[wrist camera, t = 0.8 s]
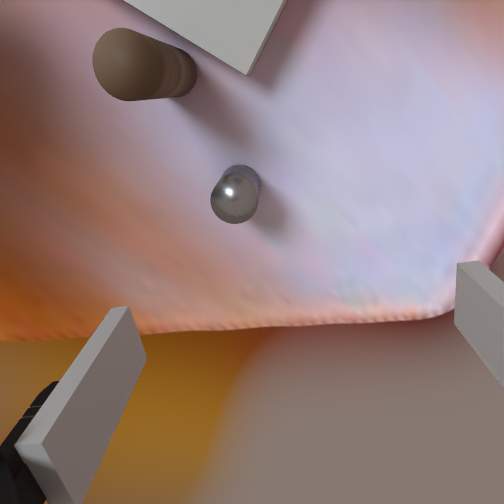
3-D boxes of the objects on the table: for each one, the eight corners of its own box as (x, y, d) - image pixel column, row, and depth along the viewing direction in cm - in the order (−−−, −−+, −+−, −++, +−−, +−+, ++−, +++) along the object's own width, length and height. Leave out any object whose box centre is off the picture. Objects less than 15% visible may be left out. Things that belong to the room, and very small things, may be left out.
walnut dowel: (145, 82, 35) (84, 79, 24) (163, 38, 33) (105, 13, 22) (185, 105, 35) (142, 113, 24) (204, 63, 34) (168, 51, 23)
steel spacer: (213, 192, 38) (202, 209, 33) (232, 157, 37) (223, 169, 31) (248, 211, 39) (243, 231, 33) (267, 177, 37) (265, 193, 32)
